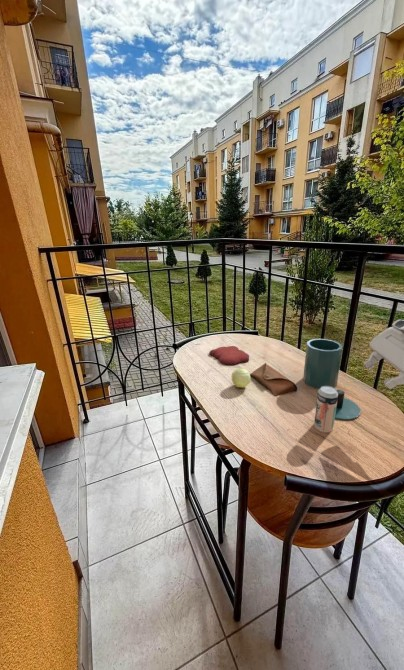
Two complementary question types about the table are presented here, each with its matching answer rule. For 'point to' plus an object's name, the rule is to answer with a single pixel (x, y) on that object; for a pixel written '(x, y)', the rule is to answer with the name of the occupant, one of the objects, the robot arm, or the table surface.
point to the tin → (322, 363)
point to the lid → (346, 408)
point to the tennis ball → (241, 378)
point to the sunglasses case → (273, 380)
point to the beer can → (325, 408)
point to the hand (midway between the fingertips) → (375, 376)
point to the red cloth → (230, 355)
